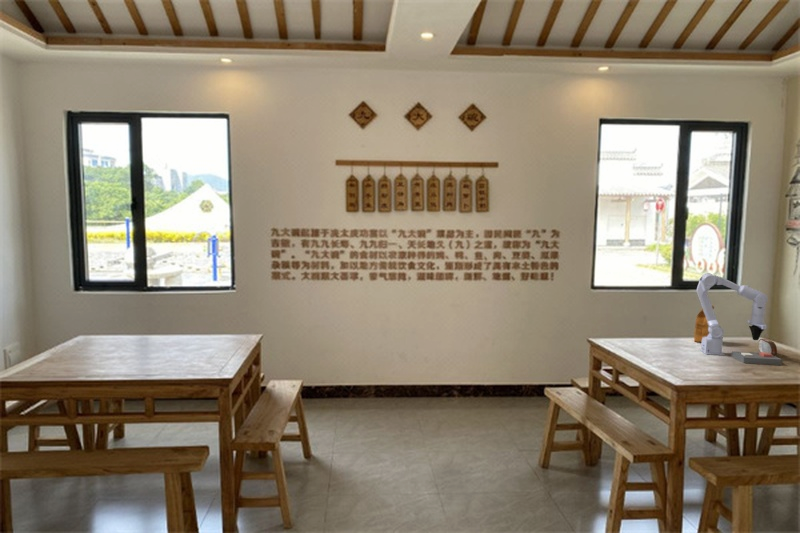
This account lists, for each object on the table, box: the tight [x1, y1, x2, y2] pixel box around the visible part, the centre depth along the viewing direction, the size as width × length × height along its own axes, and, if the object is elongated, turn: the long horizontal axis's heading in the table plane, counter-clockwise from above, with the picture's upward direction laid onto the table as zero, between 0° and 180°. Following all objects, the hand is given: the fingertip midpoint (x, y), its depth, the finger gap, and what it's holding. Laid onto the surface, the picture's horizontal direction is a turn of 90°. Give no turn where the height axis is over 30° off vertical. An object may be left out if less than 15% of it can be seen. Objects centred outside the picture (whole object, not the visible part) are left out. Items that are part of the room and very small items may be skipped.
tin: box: [758, 338, 778, 357], centre depth 278 cm, size 15×3×8 cm, turn 168°
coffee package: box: [693, 305, 715, 343], centre depth 304 cm, size 10×12×22 cm
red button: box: [758, 351, 772, 357], centre depth 265 cm, size 4×4×4 cm
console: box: [731, 351, 783, 366], centre depth 266 cm, size 18×12×3 cm, turn 83°
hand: (755, 339), depth 272 cm, fingers closed
